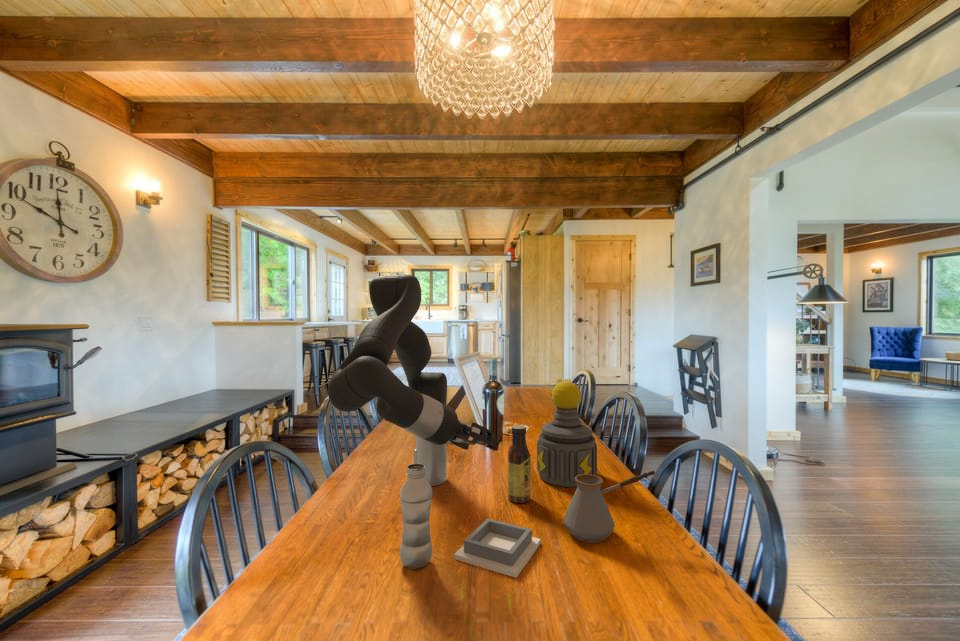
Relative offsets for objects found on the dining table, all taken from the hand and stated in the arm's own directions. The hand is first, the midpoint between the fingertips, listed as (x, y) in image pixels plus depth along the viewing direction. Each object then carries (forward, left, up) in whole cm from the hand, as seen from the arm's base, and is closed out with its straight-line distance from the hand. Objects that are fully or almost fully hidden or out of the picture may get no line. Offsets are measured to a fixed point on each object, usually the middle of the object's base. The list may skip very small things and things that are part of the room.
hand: (482, 445), depth 91 cm
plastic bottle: (-10, -10, -23) cm, 27 cm away
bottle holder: (+3, +2, -23) cm, 23 cm away
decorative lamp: (+4, +50, -23) cm, 55 cm away
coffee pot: (+23, +20, -23) cm, 38 cm away
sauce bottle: (-3, +28, -23) cm, 37 cm away
